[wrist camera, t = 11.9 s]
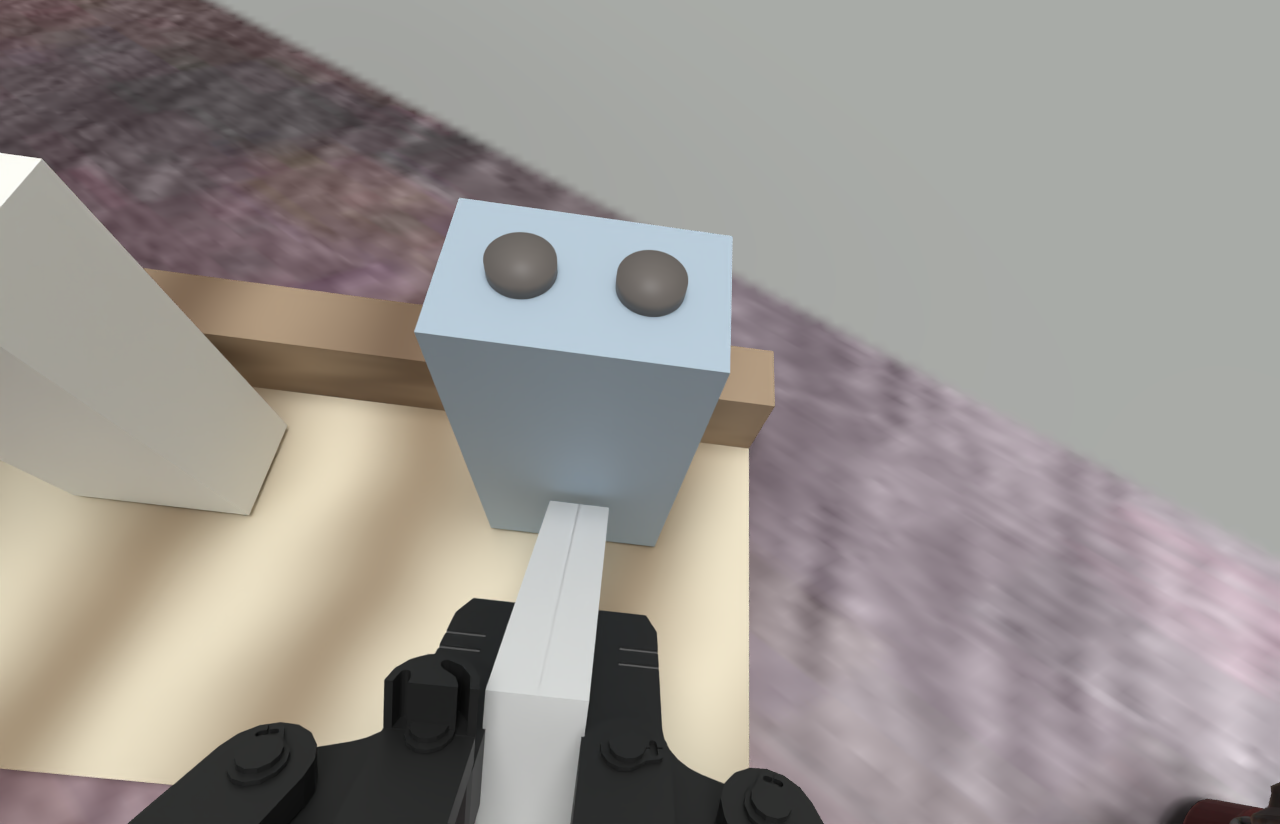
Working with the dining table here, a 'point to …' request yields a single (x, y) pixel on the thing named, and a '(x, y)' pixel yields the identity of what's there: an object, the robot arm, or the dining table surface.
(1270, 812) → the binoculars
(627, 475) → the tile two
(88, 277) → the tile one
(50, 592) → the holder
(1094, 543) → the dining table surface
